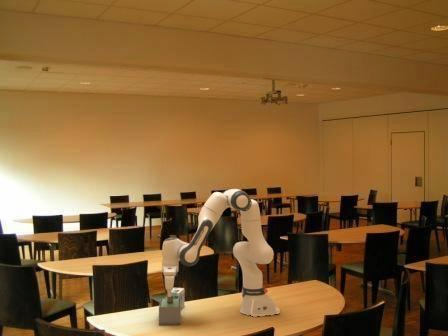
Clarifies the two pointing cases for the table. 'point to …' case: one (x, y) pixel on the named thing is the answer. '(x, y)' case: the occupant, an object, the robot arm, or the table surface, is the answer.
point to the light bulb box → (178, 295)
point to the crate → (169, 314)
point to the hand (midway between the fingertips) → (169, 294)
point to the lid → (170, 302)
